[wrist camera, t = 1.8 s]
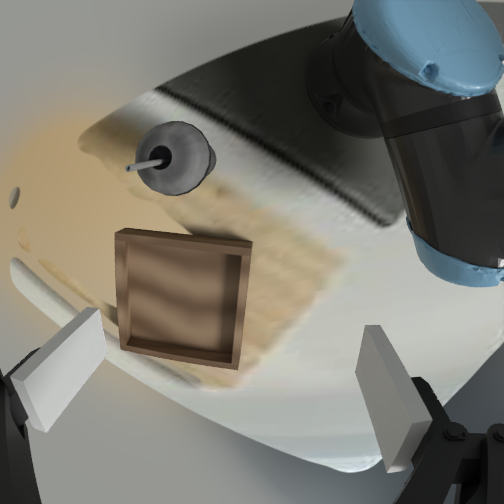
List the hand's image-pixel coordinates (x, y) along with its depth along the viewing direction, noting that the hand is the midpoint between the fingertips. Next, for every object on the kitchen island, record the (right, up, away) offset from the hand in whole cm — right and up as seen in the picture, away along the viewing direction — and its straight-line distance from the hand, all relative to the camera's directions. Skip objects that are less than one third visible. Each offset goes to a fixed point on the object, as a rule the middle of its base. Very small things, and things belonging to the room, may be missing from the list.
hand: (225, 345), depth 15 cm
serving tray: (-9, -2, +30) cm, 32 cm away
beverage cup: (-6, +16, +25) cm, 31 cm away
